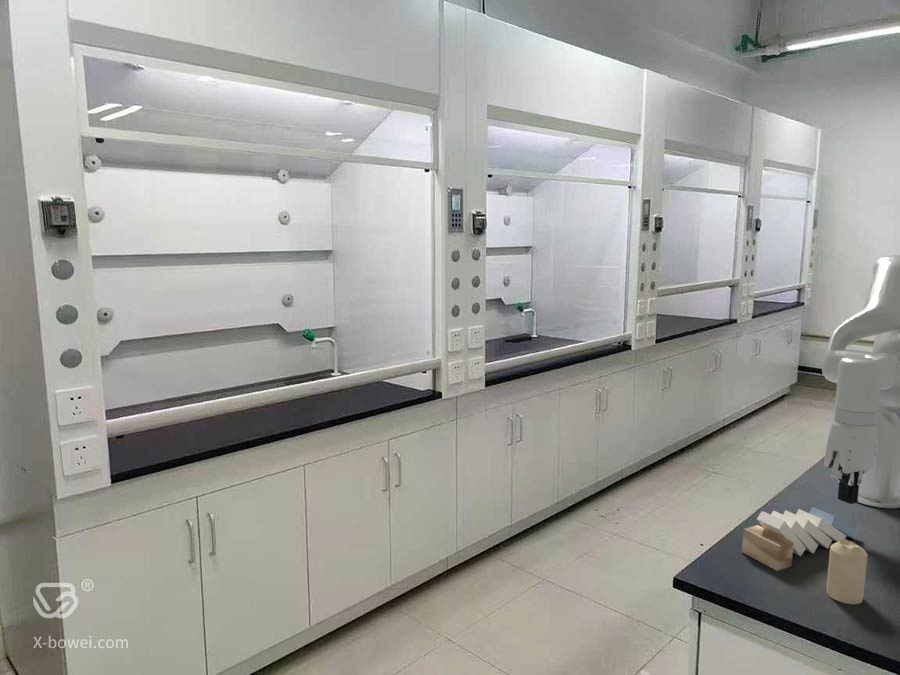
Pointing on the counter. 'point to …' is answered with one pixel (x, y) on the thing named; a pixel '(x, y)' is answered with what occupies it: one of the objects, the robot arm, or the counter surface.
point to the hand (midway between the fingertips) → (847, 501)
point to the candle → (846, 572)
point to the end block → (767, 547)
